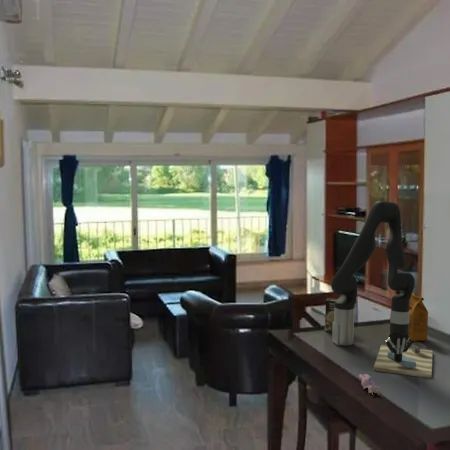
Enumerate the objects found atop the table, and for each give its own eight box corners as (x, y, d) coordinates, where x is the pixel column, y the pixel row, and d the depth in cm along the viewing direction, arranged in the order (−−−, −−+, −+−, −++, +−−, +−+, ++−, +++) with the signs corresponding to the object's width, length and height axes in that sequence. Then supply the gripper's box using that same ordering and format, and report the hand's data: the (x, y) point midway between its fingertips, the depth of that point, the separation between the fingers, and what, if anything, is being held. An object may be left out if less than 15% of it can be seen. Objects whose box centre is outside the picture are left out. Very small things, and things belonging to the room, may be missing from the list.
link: (385, 354, 237) (385, 350, 237) (395, 353, 238) (395, 349, 238) (406, 368, 221) (406, 363, 221) (417, 367, 222) (417, 362, 222)
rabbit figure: (383, 400, 199) (369, 378, 213) (385, 385, 197) (370, 364, 212) (366, 400, 198) (353, 378, 213) (368, 386, 197) (355, 365, 211)
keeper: (417, 355, 237) (418, 346, 237) (410, 351, 243) (410, 342, 243) (426, 355, 238) (426, 346, 238) (418, 350, 244) (418, 341, 244)
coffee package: (419, 334, 273) (421, 291, 271) (429, 342, 261) (431, 297, 258) (399, 334, 273) (401, 291, 270) (409, 342, 260) (410, 297, 258)
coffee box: (324, 331, 278) (324, 300, 277) (326, 327, 284) (326, 297, 283) (342, 332, 275) (343, 301, 274) (343, 329, 281) (344, 299, 280)
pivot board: (431, 378, 216) (431, 364, 215) (373, 370, 224) (374, 357, 224) (432, 354, 244) (432, 342, 244) (381, 347, 252) (381, 336, 252)
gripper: (409, 317, 229) (407, 357, 231) (380, 319, 226) (378, 359, 228) (419, 322, 222) (417, 363, 223) (389, 324, 219) (388, 366, 221)
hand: (397, 361), depth 226 cm, fingers closed
